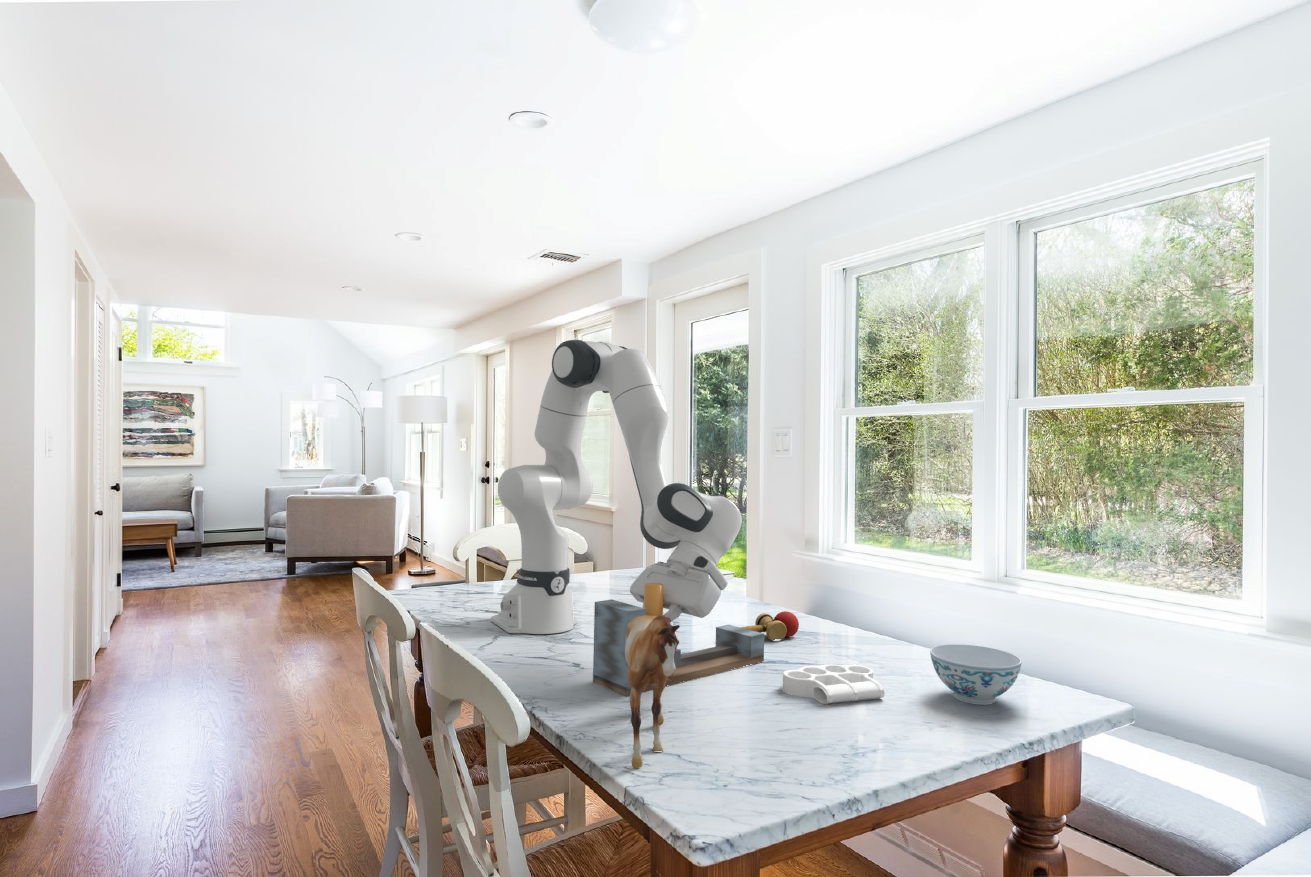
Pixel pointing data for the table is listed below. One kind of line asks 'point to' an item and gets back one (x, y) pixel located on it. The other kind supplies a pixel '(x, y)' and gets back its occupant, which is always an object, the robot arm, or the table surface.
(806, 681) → the white brass knuckles
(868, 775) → the table surface
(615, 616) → the walnut rail
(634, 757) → the horse figurine
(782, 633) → the kendama
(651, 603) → the carriage
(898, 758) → the table surface
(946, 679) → the chinaware
